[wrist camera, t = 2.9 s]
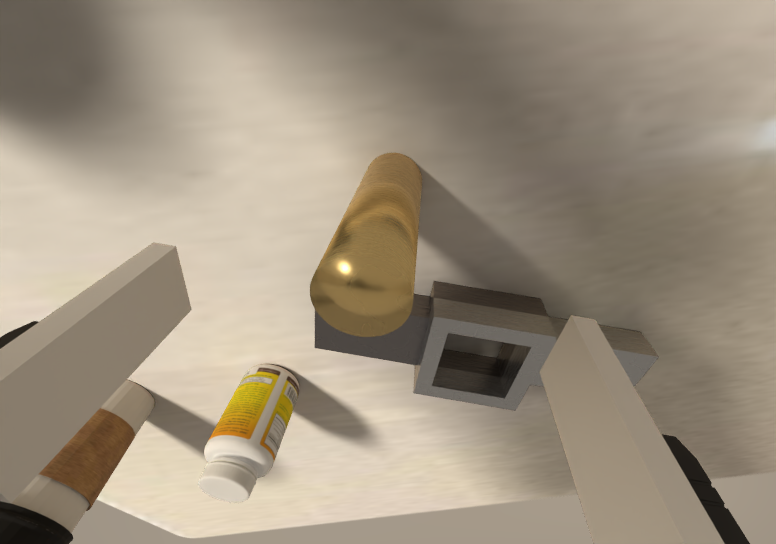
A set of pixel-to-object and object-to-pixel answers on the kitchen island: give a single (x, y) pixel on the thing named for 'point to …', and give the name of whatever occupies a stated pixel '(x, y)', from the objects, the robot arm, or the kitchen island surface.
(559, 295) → the kitchen island surface
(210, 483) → the supplement bottle
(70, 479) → the coffee cup
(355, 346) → the grey plate with loop
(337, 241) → the pin
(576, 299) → the kitchen island surface
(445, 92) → the kitchen island surface
